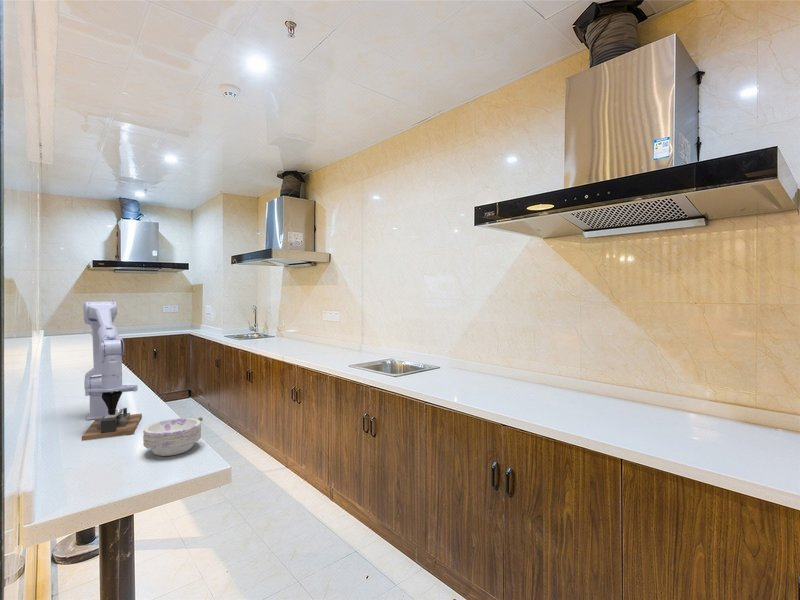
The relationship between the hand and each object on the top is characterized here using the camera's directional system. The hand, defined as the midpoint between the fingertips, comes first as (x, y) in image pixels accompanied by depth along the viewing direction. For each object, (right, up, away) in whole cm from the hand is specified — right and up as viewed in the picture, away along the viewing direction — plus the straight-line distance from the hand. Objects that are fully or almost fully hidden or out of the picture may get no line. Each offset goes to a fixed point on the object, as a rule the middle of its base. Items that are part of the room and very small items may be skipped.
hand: (112, 414), depth 138 cm
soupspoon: (+25, -7, +1) cm, 26 cm away
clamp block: (-1, -4, +2) cm, 5 cm away
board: (-2, -6, +3) cm, 7 cm away
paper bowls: (+30, -7, -16) cm, 35 cm away
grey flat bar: (-1, -1, +3) cm, 3 cm away
